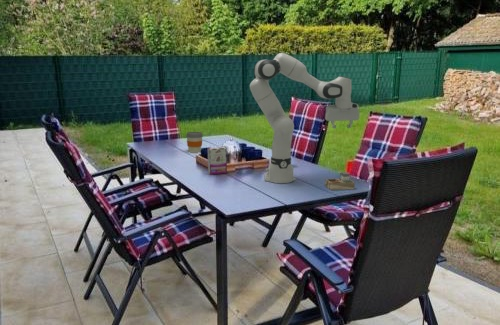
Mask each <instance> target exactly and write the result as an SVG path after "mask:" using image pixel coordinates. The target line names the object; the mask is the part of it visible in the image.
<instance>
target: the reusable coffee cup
mask: <svg viewBox="0 0 500 325" xmlns="http://www.w3.org/2000/svg"><path fill="white" fill-rule="evenodd" d="M185 136H186V145H187V149H188V153H189V152H190V153H189V154H199V153H198V152H200V150H201V151H202V146H203V137H204V136H203V132H201V131H189V132H186V135H185ZM200 153H201V152H200Z"/></svg>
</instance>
